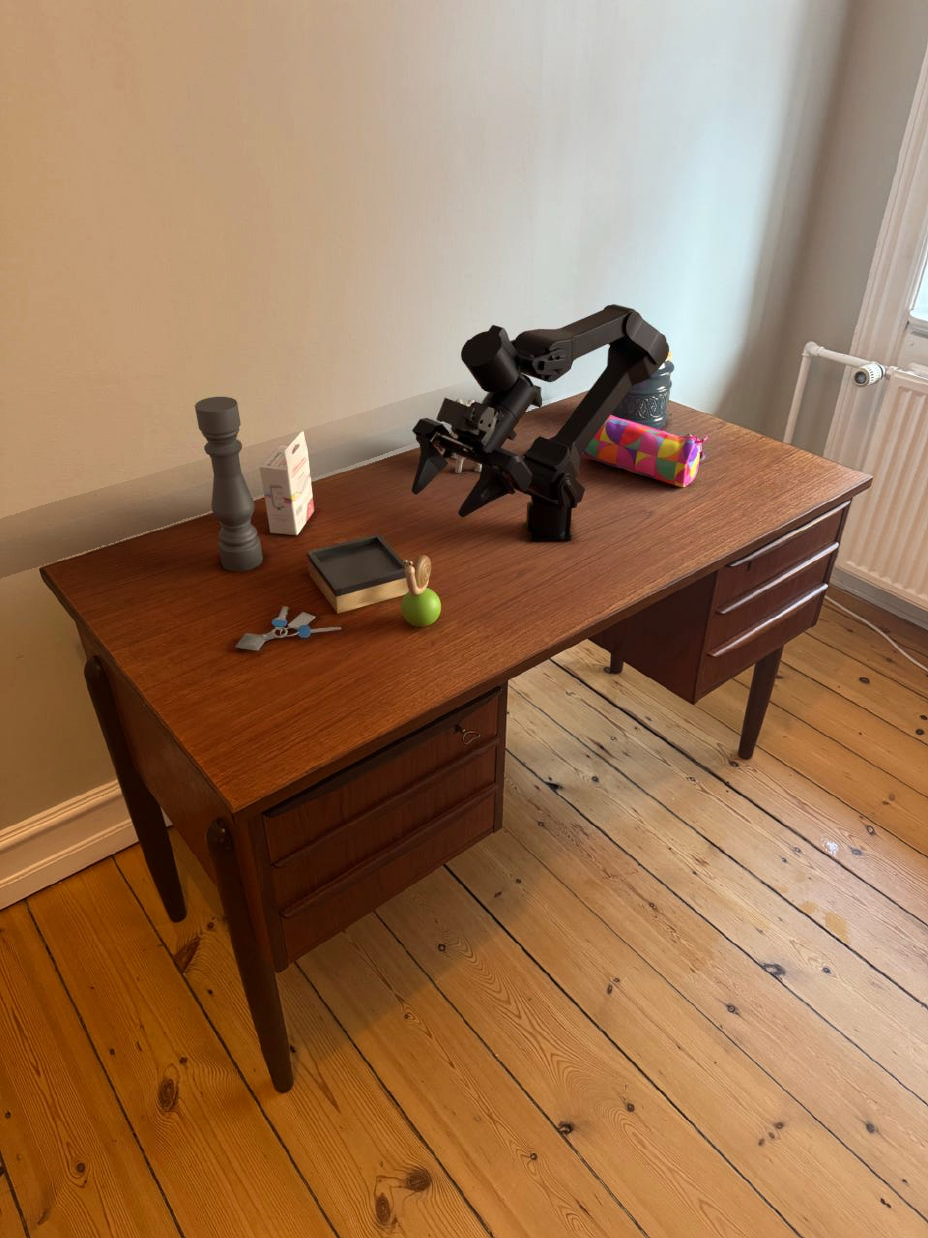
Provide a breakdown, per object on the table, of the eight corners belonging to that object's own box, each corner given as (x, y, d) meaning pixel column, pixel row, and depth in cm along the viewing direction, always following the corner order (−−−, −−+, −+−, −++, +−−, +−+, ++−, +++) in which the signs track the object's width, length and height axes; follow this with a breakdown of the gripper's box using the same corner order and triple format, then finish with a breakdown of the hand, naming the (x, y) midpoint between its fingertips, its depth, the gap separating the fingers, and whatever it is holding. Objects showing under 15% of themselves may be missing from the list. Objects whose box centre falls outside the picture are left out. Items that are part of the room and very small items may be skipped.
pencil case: (707, 475, 158) (715, 428, 153) (688, 495, 152) (696, 447, 147) (597, 448, 168) (601, 403, 163) (575, 466, 161) (579, 420, 156)
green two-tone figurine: (392, 633, 119) (387, 557, 112) (411, 608, 124) (408, 534, 117) (428, 642, 117) (426, 566, 110) (447, 616, 122) (446, 542, 115)
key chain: (239, 657, 114) (238, 652, 114) (226, 623, 120) (225, 618, 120) (342, 632, 119) (341, 627, 118) (325, 601, 125) (324, 596, 124)
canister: (600, 432, 174) (609, 343, 164) (603, 407, 185) (611, 323, 175) (667, 436, 173) (679, 347, 163) (665, 411, 183) (677, 326, 173)
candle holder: (242, 575, 131) (216, 416, 116) (212, 564, 133) (183, 406, 119) (271, 557, 135) (248, 401, 120) (241, 546, 137) (216, 392, 123)
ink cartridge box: (287, 508, 148) (276, 426, 139) (315, 511, 147) (306, 428, 138) (268, 533, 141) (255, 448, 132) (297, 536, 140) (286, 451, 132)
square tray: (380, 556, 135) (379, 533, 133) (412, 592, 127) (411, 569, 125) (309, 574, 131) (306, 551, 128) (337, 613, 122) (335, 590, 120)
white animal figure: (474, 445, 169) (475, 392, 163) (485, 474, 159) (486, 418, 153) (447, 447, 168) (446, 393, 162) (456, 476, 158) (456, 419, 152)
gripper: (426, 358, 119) (361, 451, 118) (528, 394, 109) (458, 496, 107) (462, 407, 128) (401, 493, 127) (559, 444, 118) (495, 539, 116)
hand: (436, 504), depth 119 cm, fingers open, 9 cm apart
